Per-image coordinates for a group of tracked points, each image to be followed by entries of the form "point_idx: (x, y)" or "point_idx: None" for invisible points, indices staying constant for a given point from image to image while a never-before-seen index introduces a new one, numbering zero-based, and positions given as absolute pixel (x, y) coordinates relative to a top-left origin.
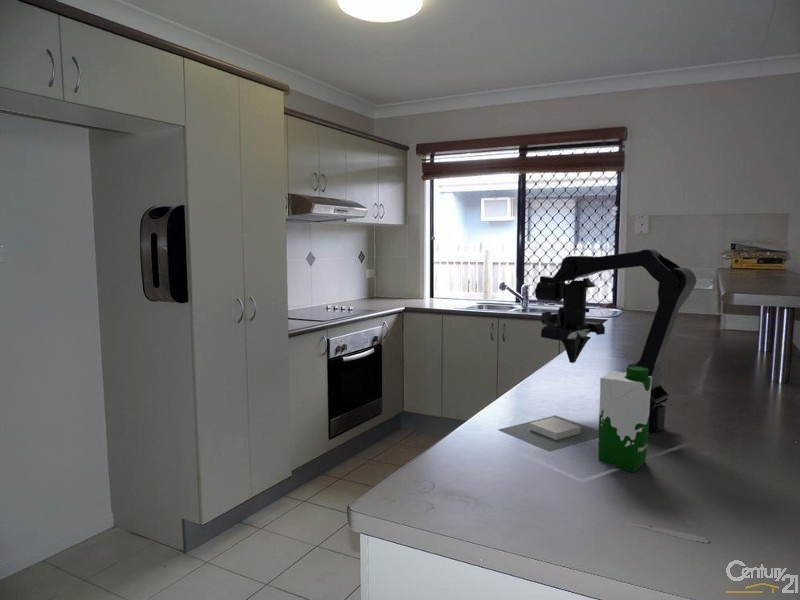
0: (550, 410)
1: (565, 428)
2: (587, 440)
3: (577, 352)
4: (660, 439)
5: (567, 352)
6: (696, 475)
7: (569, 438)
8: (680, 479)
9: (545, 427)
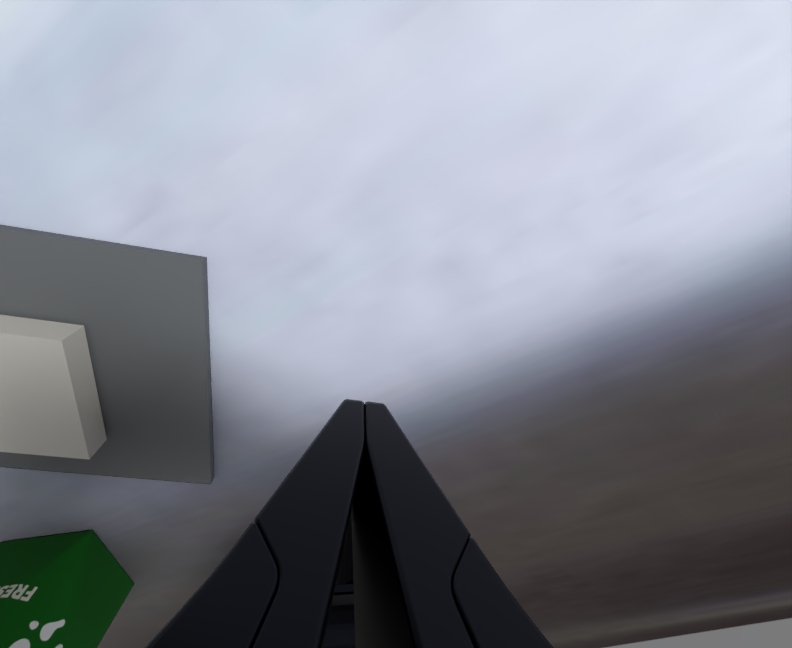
0: (285, 168)
1: (9, 440)
2: (87, 473)
3: (354, 614)
4: None
5: (271, 508)
6: None
7: None
8: (125, 634)
9: None
